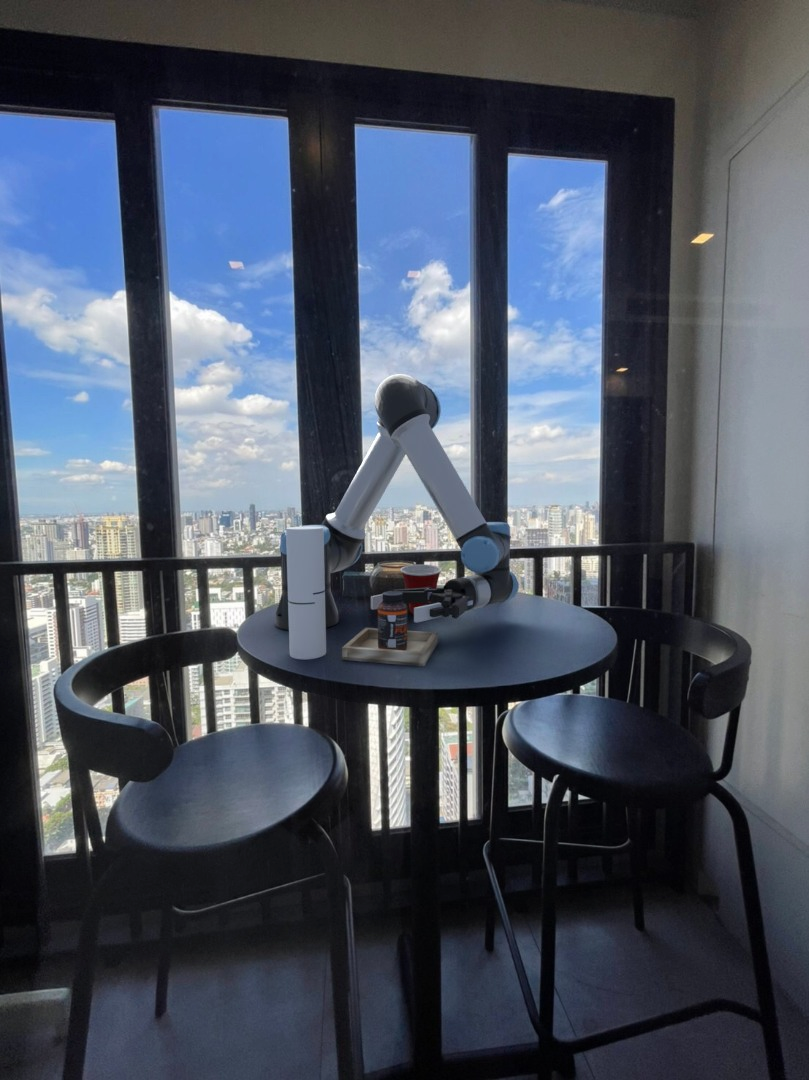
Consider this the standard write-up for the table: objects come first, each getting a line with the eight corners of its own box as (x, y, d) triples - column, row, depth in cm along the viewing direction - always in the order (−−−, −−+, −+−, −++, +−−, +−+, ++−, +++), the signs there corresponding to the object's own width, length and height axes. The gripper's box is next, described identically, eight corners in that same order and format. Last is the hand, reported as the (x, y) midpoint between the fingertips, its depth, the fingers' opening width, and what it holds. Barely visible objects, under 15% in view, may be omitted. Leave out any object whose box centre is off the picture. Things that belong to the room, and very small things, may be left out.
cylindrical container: (333, 653, 99) (330, 527, 96) (303, 662, 93) (299, 530, 91) (312, 645, 104) (309, 526, 101) (282, 653, 98) (278, 528, 96)
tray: (342, 659, 95) (342, 647, 94) (365, 638, 108) (365, 627, 108) (424, 666, 91) (424, 653, 91) (437, 643, 104) (437, 632, 104)
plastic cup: (398, 617, 126) (398, 570, 124) (402, 607, 136) (401, 564, 135) (441, 618, 125) (441, 571, 124) (441, 608, 136) (441, 564, 134)
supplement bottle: (399, 655, 95) (398, 597, 94) (372, 650, 98) (371, 594, 97) (412, 646, 101) (412, 591, 100) (386, 642, 103) (386, 588, 102)
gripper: (510, 620, 103) (436, 641, 89) (427, 600, 122) (356, 615, 108) (510, 585, 102) (436, 600, 88) (427, 570, 121) (355, 581, 107)
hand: (392, 608), depth 98 cm, fingers open, 13 cm apart
